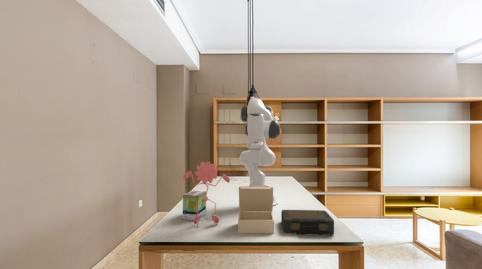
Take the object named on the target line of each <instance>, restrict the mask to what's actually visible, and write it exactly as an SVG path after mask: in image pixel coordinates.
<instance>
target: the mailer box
mask: <svg viewBox="0 0 482 269" xmlns="http://www.w3.org/2000/svg"><path fill="white" fill-rule="evenodd" d="M238 214H239V215H238V218H237V233H238V234H275V218H274V215H273V211H272V212H246V211H239V213H238Z"/></svg>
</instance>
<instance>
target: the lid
mask: <svg viewBox="0 0 482 269" xmlns="http://www.w3.org/2000/svg"><path fill="white" fill-rule="evenodd" d="M273 196H274V186H270V187H265V186H249V185H248V186H247V185H242V186H241V185H240V186H238V208H239V209H238V211H239V212H272V213H273V210H274V209H273V207H274V206H273Z"/></svg>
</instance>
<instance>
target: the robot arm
mask: <svg viewBox="0 0 482 269" xmlns="http://www.w3.org/2000/svg"><path fill="white" fill-rule="evenodd" d="M239 117H240V119H241V121H242V122H244V123H245V125H244V126H245V132H244V133H245V135H246V136H247V138H246V141H247V144H246V148H247V149H249V150H244V151H241V153H240V155H239V161H240V163H241V164H242V166H244V167H245V169H247V170H246V171H247V172H248V176H249V185H248V186H265V187H271V186H270V185H266V174H265V173H264V172H263V171H261V170H260V169H259V167H269V166H273V165H274V164H275V163H276V158H277V157H276V155H275V153H274V152H273V151H272V150H271V149H270V148H269V147H268V144H267V141H266V139H269V140H276V139H277V138H278V137H279V136H280V134H281V127H280V126H281V125H280V123H279V122H278V121H277V120H276V117H275V116H274V111H273V109H272V106H270V105H265V104H264V102H263V101H262V99H261V98H257V97H256V98H252V99H251V100H249V102H248V104H247V105H245V106H243V107H242V108H240V111H239ZM275 200H276V199H275V196H274V195H273V207H274V206H277V205H279V202H277V201H275Z"/></svg>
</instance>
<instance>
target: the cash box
mask: <svg viewBox="0 0 482 269" xmlns="http://www.w3.org/2000/svg"><path fill="white" fill-rule="evenodd" d="M280 212H281V216H280V217H281V226H282V230H283V233H285V234H296V235H305V234H318V235H317V236H323V235H322V234H331V235H330V236H333V235H332V234H334V235H335V220H334V219H333V218H332V217H331V215H330V214H329V213H328V212H327V211H326V210H324V209H323V210H321V209H320V210H318V209H317V210H315V209H313V210H312V209H282V210H281V211H280Z"/></svg>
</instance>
